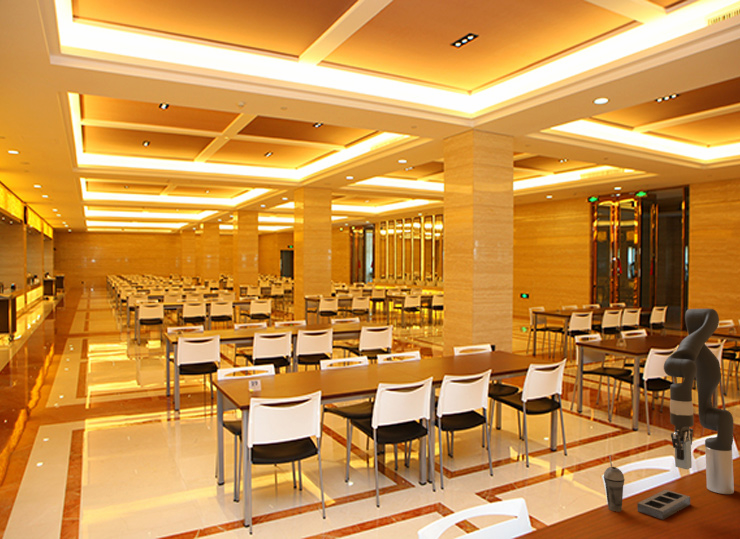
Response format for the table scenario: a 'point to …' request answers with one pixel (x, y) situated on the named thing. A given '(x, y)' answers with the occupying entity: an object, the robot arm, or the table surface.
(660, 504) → the grey slotted block
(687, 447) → the peg
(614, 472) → the beverage cup
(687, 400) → the robot arm
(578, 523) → the table surface
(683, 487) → the table surface
